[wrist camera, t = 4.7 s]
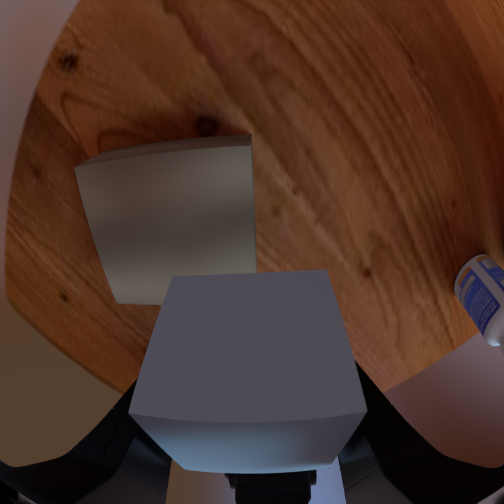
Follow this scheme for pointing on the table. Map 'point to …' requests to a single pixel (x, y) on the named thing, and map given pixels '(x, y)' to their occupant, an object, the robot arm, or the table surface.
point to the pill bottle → (483, 296)
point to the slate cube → (250, 374)
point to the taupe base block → (170, 212)
